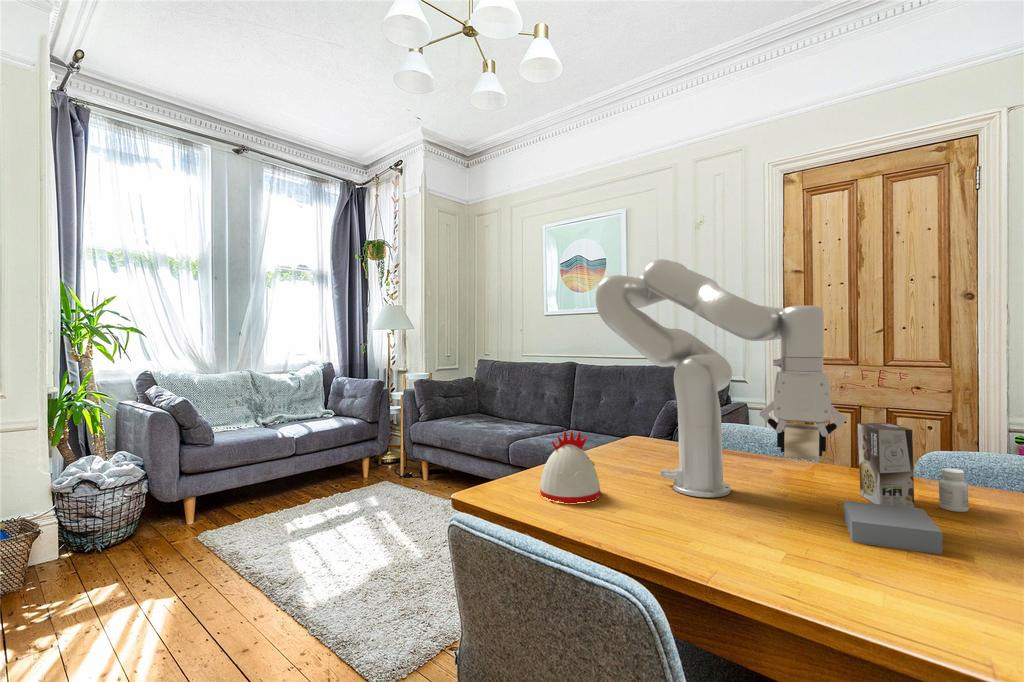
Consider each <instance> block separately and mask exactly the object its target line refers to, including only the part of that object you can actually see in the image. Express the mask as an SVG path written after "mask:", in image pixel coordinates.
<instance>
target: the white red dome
mask: <svg viewBox="0 0 1024 682" xmlns="http://www.w3.org/2000/svg"><path fill="white" fill-rule="evenodd" d="M569 434H570V435H569V439H568V434H567V432H566V430H563V438H561V437H560V435H558V434H557V439H558V440H557V441H558V444H557V445H556V443H555V442H554V441H553V440H551V443H552V445H553V449H554V451H552V453H551V454H550V455H549V457H548V458H547V461H546V462H545V465H544V468H543V471H542V475H541V479H540V484H539V492H540V493H541V495H542V496H543V497H546V498H548V499H551V500H554V501H559V502H564V503H577V502H587V501H592V500H595V499H597V498H598V497H599V496H600V497H601V485H600V481H599V477H598V474H597V471H596V468H595V465H596V463H595V462H594V461H593V460H592V459H591V458H590V457H589V455H588V454H587V453H586V451H584V450H583V447H584V445H585V444H586V440H587V438H588V437H587V435H585V437H584V438H583V439H582V437H581V431H580V430H579V431H578V432H577V435H576V438H574V433H573V430H570V433H569ZM540 493H539V494H540ZM541 495H540V496H541ZM600 497H599V498H600ZM599 498H598V499H599ZM598 499H597V500H598ZM595 501H596V500H595ZM592 502H593V501H592Z"/></svg>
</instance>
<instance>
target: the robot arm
mask: <svg viewBox="0 0 1024 682" xmlns="http://www.w3.org/2000/svg"><path fill="white" fill-rule="evenodd" d="M642 273H643V274H642V275H640V276H637V277H635V276H628V275H621V274H616V275H610V276H607V277H605V278H603V279H602V280H600V282H599V284H598V286H597V288H596V291H595V306H596V310H597V313H598V315H599V317H600V318H601V320H602V321H603V322H604V324H605V326H607V327H608V328H609V329H610V330H611V331H613V332H614V333H615V334H616V335H617V336H619V337H620V338H621V339H622V340H624V341H625V342H626V343H628V344H629V345H630V347H632V348H633V349H635V350H636V351H637V352H638V353H640V354H641V355H642V356H644V357H645V358H646V359H647V360H649V362H651V363H652V364H653V365H655V366H657V367H661V368H663V367H664V368H668V367H674V368H675V369H674V371H673V372H674V373H673V387H674V393H675V398H676V403H677V404H676V407H677V423H678V424H677V425H678V427H677V429H678V461H679V462H678V463H679V465H678V468H676V467H675V468H674V469H670V468H663V467H662V468H661V469H660V476H661V477H664V479H668V480H670V479H671V480H674V482H673V483H672V488H673V489H674V491H676V492H677V493H680V494H681V495H682V494H683V495H687V496H691V497H696V498H721V497H725V496H729V494H730V493H731V490H732V489H731V486H730V485H729V484H728V483H727V482H725V481H724V473H723V472H724V468H723V467H724V466H723V465H724V464H723V463H724V462H723V436H722V434H723V433H722V431H723V429H722V410H721V404H720V398H719V393H718V392H719V391H722V390H724V389H725V388H727V386H729V384H730V383H731V381H732V376H733V370H732V367H731V365H730V363H729V362H728V360H727V359H726V358H725V357H724V356H723V355H721V354H720V353H718V351H716V350H714V349H713V348H711V346H709V345H707V344H706V343H705V342H703V341H701V339H699V338H698V337H696V336H695V335H693V334H692V333H690V332H688V331H686V330H684V329H679V328H669V327H665V326H664V325H662V324H660V323H659V322H658V321H656V320H654V319H653V318H651V317H650V316H649V315H648V314H646V313H645V312H643V311H642V310H639V309H640V308H641V309H642V308H644V307H648V306H651V305H654V304H657V303H660V302H664V301H666V300H668V301H670V302H673V303H674V304H676V305H679V306H680V307H682V308H685V310H686V309H687V310H688V311H690V312H692V313H695V314H696V315H697V316H698V317H700V318H702V319H704V320H705V321H707V322H709V323H711V324H712V325H714V326H716V327H718V328H719V329H723V330H724V331H726V332H729V334H730V333H731V334H733V335H734V336H737V337H738V338H740V339H743V340H747V341H748V342H764V341H765V342H768V341H774V340H781V342H780V344H781V345H780V347H781V348H780V349H781V351H780V352H781V353H780V354H781V355H780V356H781V357H780V358H777V359H773V361H772V362H773V363H772V365H773V366H774V367H778V368H779V369H780V371H776V376H775V380H774V389H773V400H772V401H771V402H770V403H769V404H768V405H767V406H765V407H764V408H763V409H762V410H760V412H759V416H760V417H761V418H762V419H763V420H764V421H765V422H767V423H768V425H769V426H770V427H771V428H773V430H775V432H776V447H777V448H780V453H784V437H785V434H784V426H785V424H786V423H788V422H798V423H809V424H810V423H811V424H816V425H817V427H818V429H819V457H822V456H823V452H825V453H826V452H827V437H828V436H829V435H830V434H831V433H833V432H834V431H835V430H836V429H837V428H839V427H840V426H842V425H843V424H844V423H846V422H847V419H846V417H845V416H844V415H843V414H842V413H841V412H839V410H837V408H835V407H834V405H832V399H831V398H832V397H831V385H830V379H829V374H828V373H826V372H824V334H825V333H824V325H825V323H824V321H825V318H824V317H825V315H824V313H825V312H824V310H823V308H821V307H820V306H818V305H791V306H787V307H774V306H767V305H760V304H757V303H754V302H752V301H749V300H747V299H745V298H742V297H740V296H738V295H735V294H734V293H731V292H729V291H727V290H725V289H724V288H723V287H721V286H720V285H719V284H718V282H716V280H714V279H713V278H711V277H708V276H705V275H703V274H701V273H698V272H696V271H693V270H691V269H689V268H687V267H686V266H685V265H684V264H682V263H680V262H677V261H673V260H669V259H664V258H659V259H655V260H653V261H650V263H648V264H647V265H646V266H645V268H644V270H643V272H642ZM771 412H773V416H774V418H775V419H777V420H778V421H776V420H775V419H774V418H773V417H771V415H770V413H771ZM832 416H833V418H834V419H833V421H831V419H832V418H831V417H832ZM830 421H831V422H830ZM828 422H830V423H828ZM825 423H828V424H826V425H825Z"/></svg>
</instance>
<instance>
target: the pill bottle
mask: <svg viewBox="0 0 1024 682" xmlns="http://www.w3.org/2000/svg"><path fill="white" fill-rule="evenodd" d="M941 477H942V478H941V479H940V480H939V481H938V495H939V496H938V501H939V507H940V508H941V509H943V510H947V511H950V512H956V513H957V512H958V513H966V512H967V513H968V512H969V508H970V507H969V506H970V505H969V487H968V483H967V482H965V481H964V480H965V478H966V477H965V471H964V470H962V469H957V468H949V467H948V468H941Z"/></svg>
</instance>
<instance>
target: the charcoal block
mask: <svg viewBox="0 0 1024 682" xmlns="http://www.w3.org/2000/svg"><path fill="white" fill-rule="evenodd" d="M843 520H844V522H845V523H844V524H845V525H846V528H847V532H848V534H849V536H850V539H851V541H852V543H857V544H863V545H871V546H877V547H878V546H879V547H887V548H893V549H901V550H905V551H906V550H907V551H915V552H919V553H920V552H923V553H929V554H937V555H943V552H944V551H943V531H942V530H941V529H940V528H939V527H938V525H937V524H936V523H935V522H934V520H933V519H932V518H931V516H929V515H928V514H927V512H926V511H925V510H924V509H923V508H917V507H914V508H910V507H900V506H891V505H881V504H874V503H873V502H861V501H860V502H859V501H851V500H843Z"/></svg>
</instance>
